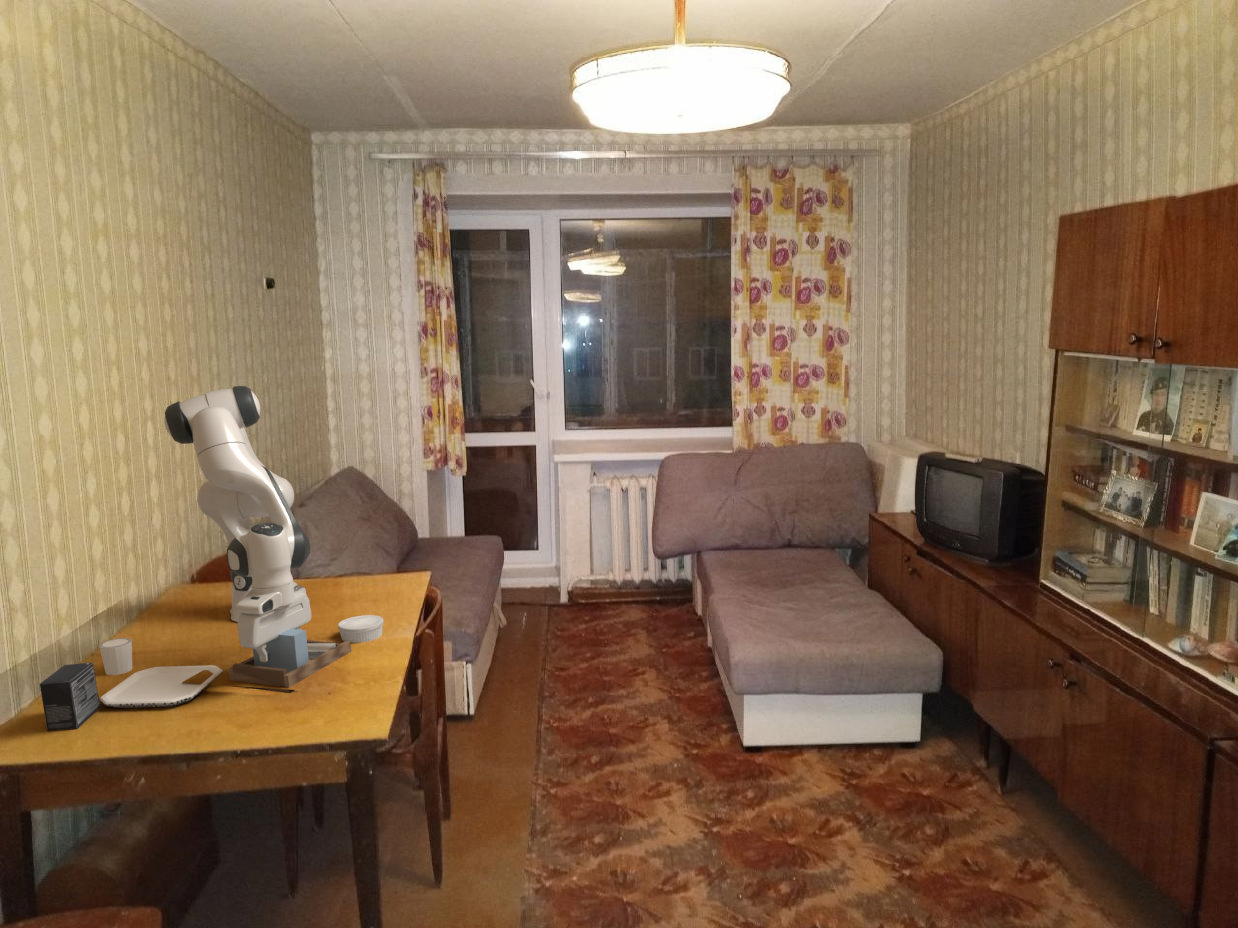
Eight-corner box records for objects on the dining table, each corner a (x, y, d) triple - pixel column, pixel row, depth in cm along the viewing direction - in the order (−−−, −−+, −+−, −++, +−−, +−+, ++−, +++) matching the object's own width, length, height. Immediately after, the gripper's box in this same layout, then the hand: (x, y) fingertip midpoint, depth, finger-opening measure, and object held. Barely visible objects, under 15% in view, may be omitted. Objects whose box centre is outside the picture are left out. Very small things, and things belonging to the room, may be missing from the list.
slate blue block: (267, 671, 219) (263, 626, 217) (310, 676, 215) (305, 630, 213) (255, 677, 215) (250, 631, 214) (298, 682, 211) (294, 636, 210)
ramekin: (352, 633, 244) (350, 613, 243) (392, 634, 241) (391, 614, 240) (331, 648, 233) (329, 628, 232) (373, 650, 230) (371, 629, 230)
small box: (70, 710, 201) (63, 663, 199) (101, 707, 202) (95, 661, 200) (44, 731, 191) (37, 682, 189) (77, 729, 191) (71, 680, 190)
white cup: (141, 666, 225) (138, 638, 224) (118, 677, 219) (114, 648, 218) (119, 664, 228) (116, 636, 226) (95, 674, 221) (92, 646, 220)
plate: (143, 675, 220) (142, 666, 220) (229, 673, 219) (228, 664, 219) (92, 713, 200) (90, 703, 199) (187, 710, 199) (186, 700, 199)
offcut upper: (292, 651, 228) (291, 643, 227) (336, 651, 226) (335, 643, 226) (283, 659, 223) (282, 651, 222) (327, 659, 222) (327, 651, 221)
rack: (297, 650, 232) (295, 630, 231) (353, 656, 226) (351, 636, 226) (230, 685, 211) (227, 664, 210) (289, 693, 205) (287, 671, 204)
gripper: (293, 581, 223) (298, 637, 225) (230, 607, 204) (236, 668, 206) (315, 583, 221) (320, 639, 223) (253, 609, 202) (260, 671, 204)
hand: (279, 653), depth 214 cm, fingers open, 8 cm apart
